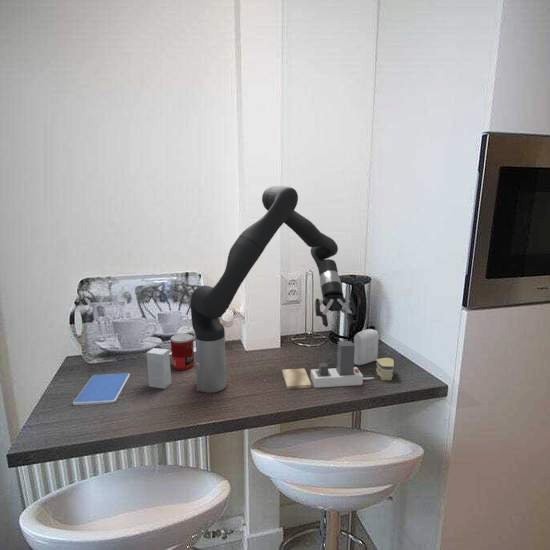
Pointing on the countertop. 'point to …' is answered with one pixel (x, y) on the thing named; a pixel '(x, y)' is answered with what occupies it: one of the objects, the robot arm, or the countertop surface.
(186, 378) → the countertop surface
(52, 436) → the countertop surface
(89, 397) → the tablet computer
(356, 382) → the power strip
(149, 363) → the skincare box
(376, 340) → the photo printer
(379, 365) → the yellow layered block
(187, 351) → the canned food
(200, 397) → the countertop surface
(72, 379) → the countertop surface
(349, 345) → the block
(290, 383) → the board
